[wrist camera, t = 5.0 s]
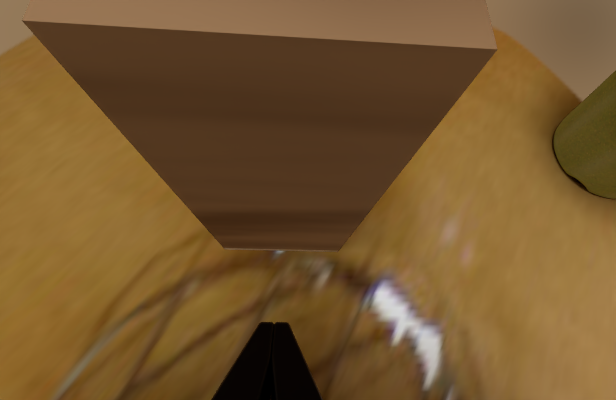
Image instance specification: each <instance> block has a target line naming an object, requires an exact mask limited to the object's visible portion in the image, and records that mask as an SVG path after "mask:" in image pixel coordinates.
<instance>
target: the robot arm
mask: <svg viewBox="0 0 616 400" xmlns="http://www.w3.org/2000/svg"><path fill="white" fill-rule="evenodd" d="M211 400H323V399H322V397H321V395H320V392H319V390H318V388H317V386H316V383H315V381H314V379H313V377H312V374H311V372H310V370H309V368H308V365H307V363H306V361H305V359H304V356H303V354H302V352H301V350H300V347H299V345H298V343H297V341H296V339H295V336H294V334H293V332H292V330H291V327H290V325H289V324H288V323H287V322H276V323H275V324H274V323H273V322H261V323H259V325H258V326H257V328H256V329H255V331H254V333H253V334H252V336H251V337H250V339H249V341H248V342H247V344H246V345H245V347H244V348H243V350H242V352H241V353H240V355H239V356H238V358H237V360H236V361H235V363H234V364H233V366H232V367H231V369H230V371H229V372H228V374H227V375H226V377H225V379H224V380H223V382H222V383H221V385H220V386H219V388H218V390H217V391H216V393H215V394H214V396H213V398H212V399H211Z"/></svg>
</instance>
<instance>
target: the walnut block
mask: <svg viewBox="0 0 616 400" xmlns="http://www.w3.org/2000/svg"><path fill="white" fill-rule="evenodd" d="M22 21H23V22H24V23H25V25H26V26H27V27H28V28H29V29H30V30H31V31H32V32H33V34H34V35H35V36H36V37H37V38H38V39H39V40H40V41H41V43H42V44H43V45H44V46H45V47H46V48H47V49H48V50H49V52H50V53H51V54H52V55H53V56H54V57H55V58H56V59H57V61H58V62H59V63H60V64H61V65H62V66H63V67H64V68H65V70H66V71H67V72H68V73H69V74H70V75H71V76H72V77H73V79H74V80H75V81H76V82H77V83H78V84H79V85H80V87H81V88H82V89H83V90H84V91H85V92H86V93H87V94H88V96H89V97H90V98H91V99H92V100H93V101H94V102H95V103H96V105H97V106H98V107H99V108H100V109H101V110H102V111H103V112H104V114H105V115H106V116H107V117H108V118H109V119H110V120H111V121H112V123H113V124H114V125H115V126H116V127H117V128H118V129H119V130H120V132H121V133H122V134H123V135H124V136H125V137H126V138H127V139H128V141H129V142H130V143H131V144H132V145H133V146H134V147H135V148H136V150H137V151H138V152H139V153H140V154H141V155H142V156H143V157H144V159H145V160H146V161H147V162H148V163H149V164H150V165H151V167H152V168H153V169H154V170H155V171H156V172H157V173H158V174H159V176H160V177H161V178H162V179H163V180H164V181H165V182H166V183H167V185H168V186H169V187H170V188H171V189H172V190H173V191H174V192H175V194H176V195H177V196H178V197H179V198H180V199H181V200H182V201H183V203H184V204H185V205H186V206H187V207H188V208H189V209H190V210H191V212H192V213H193V214H194V215H195V216H196V217H197V218H198V219H199V221H200V222H201V223H202V224H203V225H204V226H205V227H206V228H207V230H208V231H209V232H210V233H211V234H212V235H213V236H214V237H215V239H216V240H217V241H218V242H219V243H220V244H221V245H222V247H223V248H224V249H236V250H280V251H324V252H338V251H339V250H340V248H341V247H342V246H343V244H344V243H345V242H346V241H347V239H348V238H349V237H350V236H351V234H352V233H353V232H354V231H355V229H356V228H357V227H358V225H359V224H360V223H361V222H362V220H363V219H364V218H365V217H366V215H367V214H368V213H369V212H370V210H371V209H372V208H373V206H374V205H375V204H376V203H377V201H378V200H379V199H380V198H381V196H382V195H383V194H384V193H385V191H386V190H387V189H388V187H389V186H390V185H391V184H392V182H393V181H394V180H395V179H396V177H397V176H398V175H399V174H400V172H401V171H402V170H403V168H404V167H405V166H406V165H407V163H408V162H409V161H410V160H411V158H412V157H413V156H414V154H415V153H416V152H417V151H418V149H419V148H420V147H421V146H422V144H423V143H424V142H425V141H426V139H427V138H428V137H429V135H430V134H431V133H432V132H433V130H434V129H435V128H436V127H437V125H438V124H439V123H440V122H441V120H442V119H443V118H444V116H445V115H446V114H447V113H448V111H449V110H450V109H451V108H452V106H453V105H454V104H455V103H456V101H457V100H458V99H459V97H460V96H461V95H462V94H463V92H464V91H465V90H466V89H467V87H468V86H469V85H470V84H471V82H472V81H473V80H474V78H475V77H476V76H477V75H478V73H479V72H480V71H481V70H482V68H483V67H484V66H485V65H486V63H487V62H488V61H489V59H490V58H491V57H492V56H493V54H494V53H495V52H496V51H497V46H496V41H495V37H494V33H493V29H492V25H491V21H490V17H489V13H488V9H487V5H486V1H485V0H30V2H29V5H28V7H27V10H26V12H25V14H24V17H23V20H22Z"/></svg>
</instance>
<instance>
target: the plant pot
mask: <svg viewBox="0 0 616 400" xmlns="http://www.w3.org/2000/svg"><path fill="white" fill-rule="evenodd" d="M554 150H555V153H556V156H557V159H558V161H559V163H560V165H561V166H562V168H563V169H564V171H565V172H566V173H567V174H568V175H570V176H572V177H574V178H576V179H577V180H579V181H580V182H581V183H582V184H583V185H584V186H585V187H586V188H587V190H588V191H589V192H591V193H593V194H596V195H599V196H602V197H606V198H612V199H616V71H615V72H614V73H613V74H611V75H610V76H609V77H608V78H607V79H606V80H605V81H604V82H603V83H602V84H601V85H600V86H599V87H598V88H597V89H595V90H594V91H593V92H592V93H591V94H590V95H589V96H588V97H587V98H586V99H585V100H584V101H583V102H581V103H580V104H579V105H578V106H577V107H576V108H575V109H574V110H573V111H572V112H571V113H570V114H568V115H567V116H566V117H565V118H564V119H563V121H562V122H561V123H560V125H559V126H558V127H557V129H556V131H555V134H554Z"/></svg>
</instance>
